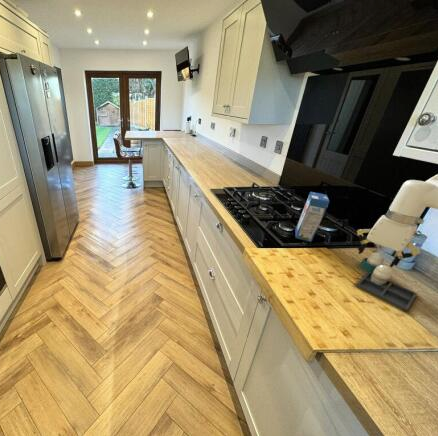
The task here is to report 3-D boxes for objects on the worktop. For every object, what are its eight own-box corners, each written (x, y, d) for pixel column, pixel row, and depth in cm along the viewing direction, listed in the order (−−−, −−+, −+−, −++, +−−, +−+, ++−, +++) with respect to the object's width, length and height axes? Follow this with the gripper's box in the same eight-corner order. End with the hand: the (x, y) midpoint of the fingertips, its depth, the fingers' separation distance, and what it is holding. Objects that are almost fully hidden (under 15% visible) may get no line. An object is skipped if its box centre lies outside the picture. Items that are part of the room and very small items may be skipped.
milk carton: (311, 242, 105) (329, 201, 96) (295, 238, 107) (311, 198, 98) (309, 233, 113) (326, 194, 104) (295, 229, 115) (310, 191, 106)
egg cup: (381, 271, 89) (386, 264, 87) (376, 277, 85) (381, 269, 84) (361, 263, 93) (366, 255, 91) (356, 268, 90) (360, 260, 88)
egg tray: (414, 297, 77) (417, 293, 76) (404, 313, 70) (407, 309, 70) (367, 275, 86) (369, 271, 85) (354, 287, 80) (356, 283, 79)
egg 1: (378, 270, 88) (388, 255, 85) (375, 273, 86) (384, 258, 83) (364, 264, 91) (373, 249, 88) (361, 267, 89) (370, 252, 86)
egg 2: (385, 283, 81) (396, 267, 78) (382, 288, 79) (393, 271, 76) (370, 276, 84) (380, 261, 81) (366, 280, 82) (376, 264, 79)
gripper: (440, 225, 75) (410, 268, 83) (372, 205, 87) (351, 244, 95) (436, 231, 71) (404, 275, 79) (365, 209, 83) (344, 250, 91)
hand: (375, 258), depth 87 cm, fingers open, 8 cm apart
